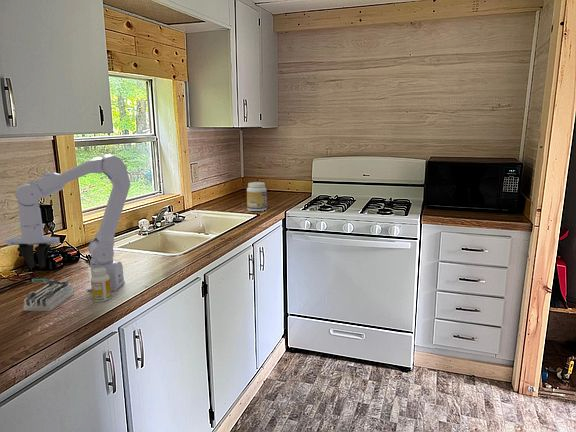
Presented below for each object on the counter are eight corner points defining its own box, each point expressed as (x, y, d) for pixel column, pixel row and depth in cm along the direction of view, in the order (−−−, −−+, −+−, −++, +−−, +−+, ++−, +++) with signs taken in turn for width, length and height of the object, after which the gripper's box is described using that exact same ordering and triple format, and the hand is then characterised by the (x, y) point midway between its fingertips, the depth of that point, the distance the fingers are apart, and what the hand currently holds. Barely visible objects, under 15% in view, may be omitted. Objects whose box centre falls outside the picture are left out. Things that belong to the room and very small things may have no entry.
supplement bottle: (107, 294, 140) (104, 265, 138) (114, 299, 136) (111, 269, 134) (90, 298, 136) (87, 269, 134) (96, 303, 132) (93, 273, 130)
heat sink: (49, 293, 141) (47, 279, 139) (73, 293, 140) (72, 279, 139) (23, 310, 128) (21, 295, 127) (50, 311, 127) (48, 295, 126)
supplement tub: (266, 212, 262) (266, 184, 259) (246, 212, 262) (245, 184, 258) (267, 208, 274) (266, 181, 271) (247, 208, 274) (247, 181, 270)
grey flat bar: (53, 284, 139) (53, 281, 139) (65, 284, 139) (65, 281, 139) (31, 281, 128) (32, 278, 128) (45, 282, 128) (45, 279, 128)
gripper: (62, 221, 135) (67, 262, 138) (13, 221, 134) (19, 263, 137) (51, 226, 128) (56, 270, 131) (0, 227, 128) (7, 271, 131)
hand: (37, 267), depth 134 cm, fingers open, 3 cm apart
